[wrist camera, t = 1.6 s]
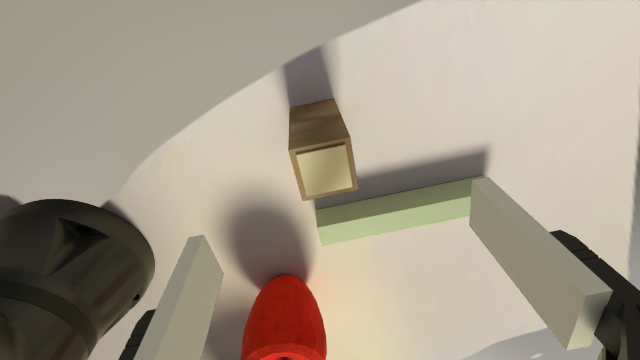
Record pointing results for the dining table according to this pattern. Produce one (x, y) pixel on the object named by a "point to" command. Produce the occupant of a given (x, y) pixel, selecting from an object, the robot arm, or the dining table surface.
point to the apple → (284, 323)
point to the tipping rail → (395, 211)
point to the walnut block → (321, 150)
